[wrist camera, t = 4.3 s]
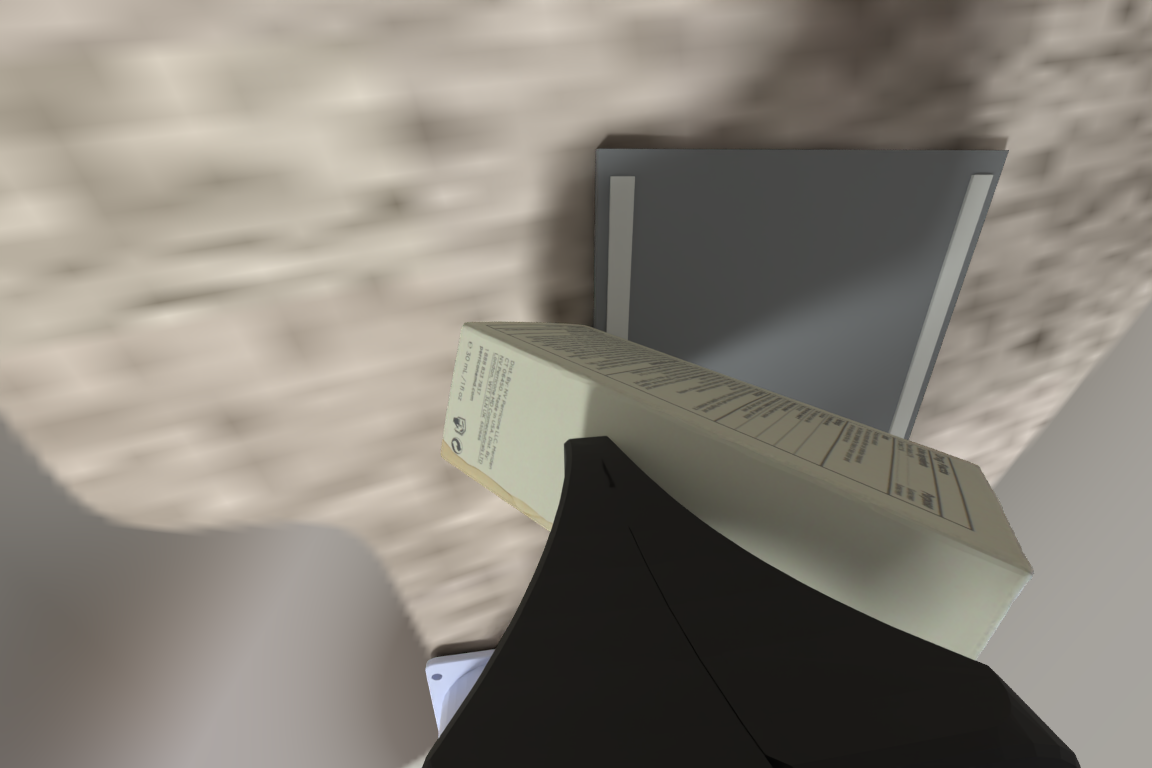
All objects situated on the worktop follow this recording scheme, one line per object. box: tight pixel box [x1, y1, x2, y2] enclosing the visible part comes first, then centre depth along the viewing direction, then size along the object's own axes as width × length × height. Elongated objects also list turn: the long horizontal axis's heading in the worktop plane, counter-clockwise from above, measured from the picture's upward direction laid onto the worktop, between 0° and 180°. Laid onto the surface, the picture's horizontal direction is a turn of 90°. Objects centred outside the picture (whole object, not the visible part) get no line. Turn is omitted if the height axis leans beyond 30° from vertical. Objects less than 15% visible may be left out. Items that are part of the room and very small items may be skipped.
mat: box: [594, 149, 1009, 440], centre depth 19 cm, size 16×15×1 cm
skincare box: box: [441, 322, 1034, 661], centre depth 12 cm, size 6×4×12 cm
